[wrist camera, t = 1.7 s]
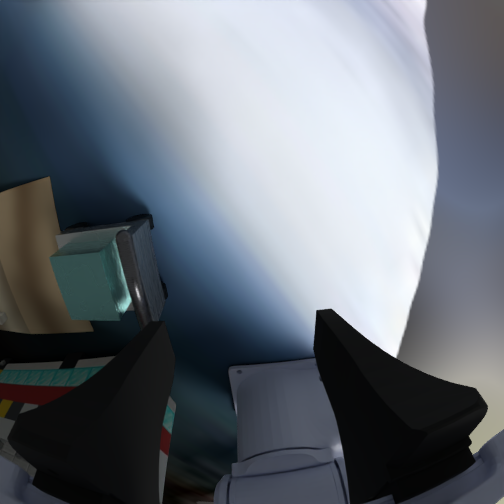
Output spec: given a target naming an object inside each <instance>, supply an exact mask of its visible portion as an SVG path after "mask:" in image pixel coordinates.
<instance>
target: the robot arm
mask: <svg viewBox="0 0 504 504" xmlns="http://www.w3.org/2000/svg"><path fill="white" fill-rule="evenodd" d="M313 350H314V354H315V358H312V359H305V360H296V361H288V362H278V363H268V364H256V365H242V366H231V367H229V369H228V373H229V379H230V384H231V390H232V395H233V400H234V405H235V411H236V415H237V444H238V463H233V464H232V474H228V475H225V476H223V477H222V479H221V481H220V482H219V483H218V484H217V486H216V489H215V494H214V504H495V503H497V502H498V501H499V500H500V499H501V498H502V497H504V429H503V430H502V431H501V432H499V433H498V434H496V435H495V436H494V437H492V438H491V439H490V440H489V441H487V443H485V444H484V445H483V446H482V448H480V450H479V451H478V452H476V453H475V454H473V455H472V453H471V451H470V449H469V446H470V445H471V444H472V441H471V439H470V438H469V435H470V434H471V432H472V431H473V430H474V429H475V428H476V427H477V425H478V424H479V423H480V422H481V421H482V419H483V418H484V416H485V415H486V412H487V409H488V406H487V404H486V402H485V401H484V399H483V398H482V397H481V395H480V394H479V392H478V391H477V389H475V388H473V387H468V386H464V385H460V384H455V383H451V382H448V381H445V380H442V379H439V378H436V377H434V376H431V375H428V374H426V373H424V372H422V371H419V370H417V369H415V368H413V367H411V366H409V365H407V364H405V363H403V362H401V361H400V360H398V359H396V358H395V357H393V356H391V355H389V354H388V353H386V352H385V351H383V350H382V349H380V348H379V347H378V346H376V345H375V344H373V343H372V342H371V341H369V340H368V339H367V338H365V337H364V336H363V335H362V334H360V333H359V332H358V331H357V330H356V329H354V328H353V327H352V326H351V325H350V324H348V323H347V322H346V321H345V320H344V319H343V318H342V317H340V316H339V315H338V314H337V313H336V312H335V311H334V310H332V309H324V310H316V324H315V335H314V346H313ZM174 369H175V355H174V352H173V349H172V345H171V342H170V339H169V335H168V332H167V328H166V325H165V321H150V322H149V323H148V324H147V325H146V326H145V327H144V328H143V329H142V330H141V331H140V332H139V333H138V334H137V335H136V336H135V337H134V338H133V339H132V340H131V341H130V342H129V343H128V344H127V345H126V346H125V347H124V348H123V349H122V350H121V351H120V352H119V353H118V354H117V355H116V356H115V357H114V358H113V359H112V360H111V361H110V362H108V363H107V364H106V365H105V366H104V367H103V368H102V369H100V370H99V371H98V372H97V373H96V374H94V375H93V376H92V377H90V378H89V379H88V380H86V381H85V382H83V383H82V384H80V385H79V386H77V387H76V388H74V389H72V390H71V391H69V392H68V393H66V394H64V395H62V396H61V397H59V398H57V399H55V400H53V401H51V402H49V403H46V404H44V405H42V406H40V407H37V408H34V409H31V410H29V411H26V412H23V413H20V414H19V415H18V417H17V419H16V421H15V423H14V425H13V427H12V429H11V431H10V433H9V435H8V437H7V440H8V442H9V444H10V445H11V447H12V448H13V449H14V450H15V451H16V452H17V453H18V454H19V455H20V456H22V457H23V458H24V459H25V460H26V461H27V462H28V463H30V464H31V465H32V466H33V467H34V468H36V469H37V470H36V473H35V476H34V477H32V476H30V475H29V474H28V473H27V472H26V471H25V470H23V469H22V468H21V467H19V466H18V465H16V464H15V463H13V462H11V461H9V460H8V459H6V458H4V457H3V456H1V455H0V504H160V498H159V456H160V442H161V432H162V426H163V421H164V416H165V412H166V408H167V404H168V399H169V395H170V391H171V387H172V383H173V377H174ZM238 370H241V371H238ZM343 457H344V458H343Z"/></svg>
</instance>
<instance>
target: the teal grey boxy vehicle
mask: <svg viewBox="0 0 504 504" xmlns="http://www.w3.org/2000/svg"><path fill="white" fill-rule="evenodd" d="M153 228H154V224H153V218H152V215H151V214H141V215H136V216H133V217H130V218H128V219H127V220H126V222H122V223H115V224H107V225H99V226H92V227H88V223H87V222H82V223H78V224H74V225H72V226H69V227H68V228H66V229H65V231H61V232H60V233H58V234H57V235H55V237H56V241H57V244H58V248H59V250H58V251H56V252H55V253H54V254H53V255H51V256H50V257H49V259H50V262H51V265H52V268H53V272H54V275H55V278H56V280H57V283H58V286H59V289H60V292H61V294H62V297H63V300H64V302H65V305H66V307H67V310H68V312H69V315H70V317H71V319H72V320H98V321H120V320H121V319H122V317H123V315H124V313H125V311H134V310H135V314H136V317H137V320H138V323H139V326H140V329H141V330H142V329H143V328H144V327H145V326H146V325H147V324H148V323H149V322H150V321H158V320H159V318H160V315H161V312H162V310H163V307H164V305H165V299H166V298H167V297H168V293H167V289H166V285H165V283H163V282H161V280H160V276H159V271H158V267H157V262H156V257H155V252H154V247H153V242H152V237H151V231H150V230H152V229H153Z"/></svg>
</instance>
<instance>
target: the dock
mask: <svg viewBox="0 0 504 504" xmlns="http://www.w3.org/2000/svg"><path fill="white" fill-rule="evenodd" d="M60 232H61V231H60V227H59V222H58V218H57V213H56V209H55V204H54V198H53V193H52V187H51V181H50V176H49V177H46V178H43V179H39V180H36V181H33V182H30V183H27V184H24V185H21V186H18V187H15V188H12V189H9V190H6V191H4V192H1V193H0V330H6V331H12V332H19V333H27V334H50V333H74V332H91V331H94V330H93V328H92V325H91V323H90V321H89V320H72V319H71V317H70V315H69V312H68V310H67V307H66V305H65V302H64V300H63V297H62V294H61V292H60V289H59V286H58V283H57V280H56V278H55V275H54V272H53V268H52V265H51V262H50V259H49V257H50V256H51V255H53V254H54V253H55V252H56V251H58V250H59V248H58V244H57V241H56V237H55V235H57V234H58V233H60Z"/></svg>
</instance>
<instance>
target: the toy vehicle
mask: <svg viewBox="0 0 504 504" xmlns="http://www.w3.org/2000/svg"><path fill="white" fill-rule="evenodd" d="M114 357H115V356H111V357H102V358H93V359H88V358H87V356H86V355H85V353H84V352H78V353H69V354H67V356H66V357H65V359H64V361H59V362H43V363H20V364H16V363H15V362H14V360H13V359H12V358H4V359H3V360H2V361H1V362H0V455H1V456H3V457H4V458H6V459H8V460H9V461H11V462H13V463H15V464H16V465H18V466H19V467H21V468H22V469H23V470H25V471H26V472H27V473H28V474H29V475H30V476H32V477H34V476H35V473H36V470H37V469H36V468H34V467H33V466H32V465H31V464H30V463H28V462H27V461H26V460H25V459H24V458H23V457H22V456H20V455H19V454H18V453H17V452H16V451H15V450H14V449H13V448H12V447H11V445H10V444H9V442H8V440H7V437H8V435H9V433H10V431H11V429H12V427H13V425H14V423H15V421H16V419H17V417H18V415H19V414H20V413H23V412H26V411H29V410H31V409H34V408H37V407H40V406H42V405H44V404H46V403H49V402H51V401H53V400H55V399H57V398H59V397H61V396H62V395H64V394H66V393H68V392H69V391H71V390H72V389H74V388H76V387H77V386H79V385H80V384H82V383H83V382H85V381H86V380H88V379H89V378H90V377H92V376H93V375H94V374H96V373H97V372H98V371H99V370H100V369H102V368H103V367H104V366H105V365H106V364H107V363H108V362H110V361H111V360H112V359H113V358H114ZM175 408H176V403H175V402H174V401H173V400H172V398H171V397H170V396H169V399H168V404H167V408H166V412H165V416H164V421H163V426H162V432H161V442H160V456H159V498H160V504H162V497H163V488H164V481H165V473H166V466H167V459H168V452H169V445H170V439H171V433H172V426H173V420H174V414H175Z"/></svg>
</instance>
